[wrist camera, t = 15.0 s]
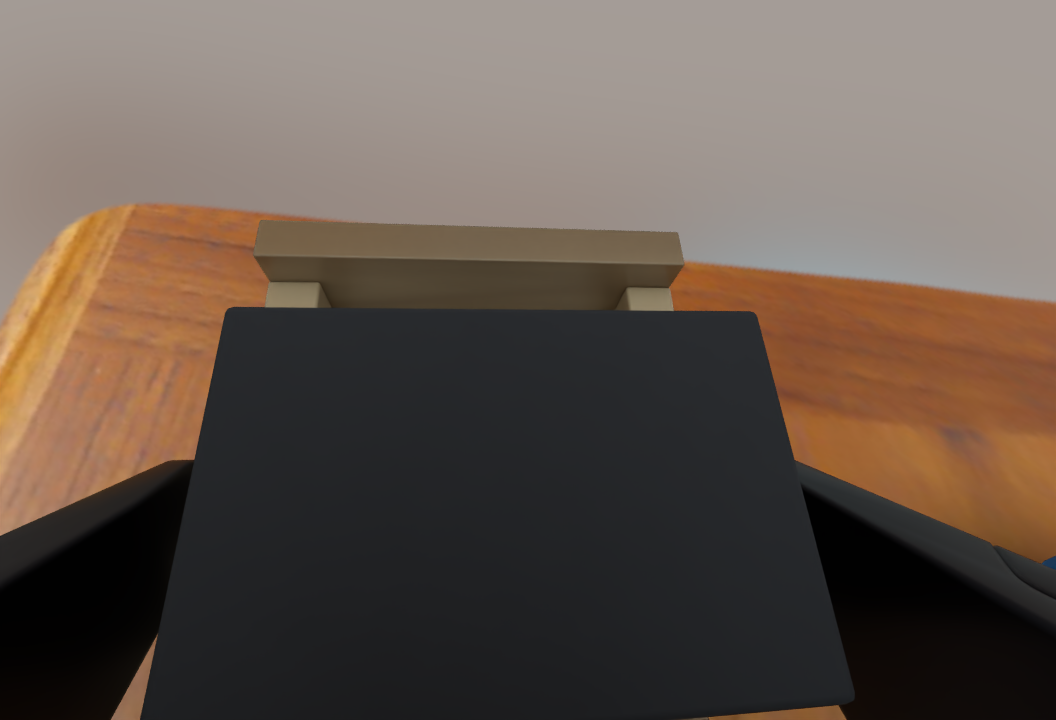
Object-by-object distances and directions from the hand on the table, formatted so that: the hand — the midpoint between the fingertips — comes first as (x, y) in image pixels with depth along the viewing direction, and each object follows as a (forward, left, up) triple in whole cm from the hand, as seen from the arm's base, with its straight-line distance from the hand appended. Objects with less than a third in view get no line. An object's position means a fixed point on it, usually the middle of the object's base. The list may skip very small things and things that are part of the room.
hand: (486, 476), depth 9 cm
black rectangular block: (0, -1, -4) cm, 4 cm away
